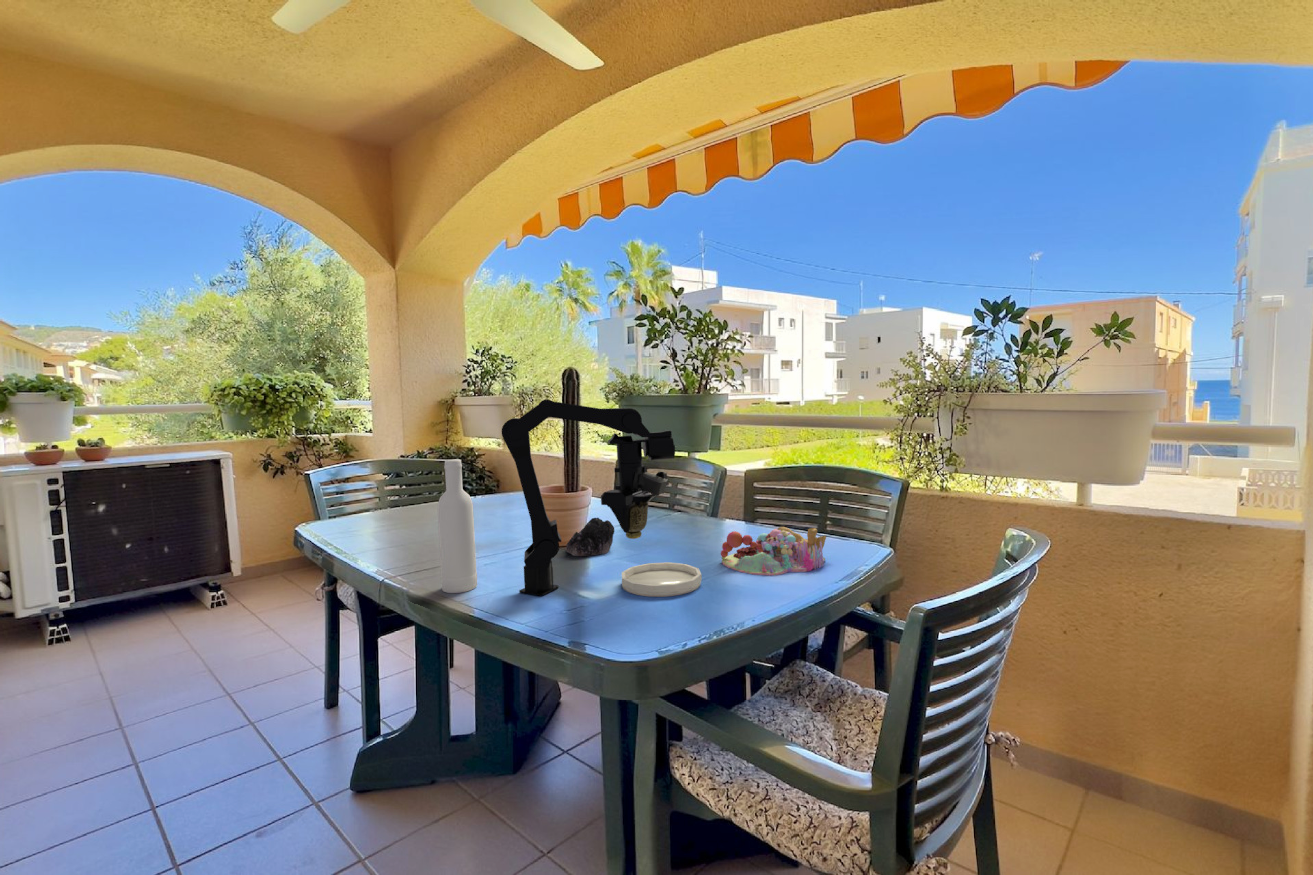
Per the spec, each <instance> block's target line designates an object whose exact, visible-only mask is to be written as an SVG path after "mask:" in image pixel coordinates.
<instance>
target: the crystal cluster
mask: <svg viewBox="0 0 1313 875" xmlns="http://www.w3.org/2000/svg"><path fill="white" fill-rule="evenodd" d="M614 535H615V527H614V525H613V524H612V522H611V521H609V520H604V521H603V520H602V519H601V518H600V517H593V518H591V519H590V520H588V522H587V523H586V524H585V525H584V526H583V528H582V529H580V531H579V532H577V531H575V533H574V534H573V535H572V537H571V538H570V539H569V541H567V544H566V553H568V554H570V555H572V556H574V557H591V556H598V555H603V554H607V553H608V552H610V550H611V547H612V544H613V542H614V539H613V538H614Z"/></svg>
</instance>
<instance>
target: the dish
mask: <svg viewBox="0 0 1313 875" xmlns="http://www.w3.org/2000/svg"><path fill="white" fill-rule="evenodd" d="M702 580H703V579H702V573H701V571H700V568H699V567H696V566H693V565H689V564H686V563H681V562H680V563H679V562H669V561H668V562H667V561H666V562H651V563H644V564H639V565H634V566H631V567H629V568H627V569H625V570H624V571H621V587H622V589H623V590H624V591H625V592H627V593H630V594H632V595H636V596H640V597H641V596H642V597H648V598H649V597H651V598H652V597H653V598H655V597H656V598H661V597H662V598H664V597H665V598H667V597H675V596H680V595H686V594H688V593H691V592H694V591H695V590H697V589H699V588H700V587H701V585H702V584H701V582H702Z"/></svg>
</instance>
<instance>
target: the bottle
mask: <svg viewBox="0 0 1313 875" xmlns="http://www.w3.org/2000/svg"><path fill="white" fill-rule="evenodd" d="M462 467H463V463H462V460H461V459H459V458H458V459H453V458H452V459H445V461H444V466H443V468H444V475H445V491H444V493H443V494H442V495H440V497H439V499H438V503H437V507H436V508H437V524H438V540H439V541H438V542H439V558H440V581H441V582H440V584H441V589H442V592H445V593H446V594H447V593H448V594H458V593H459V594H460V593H465V592H469V591H473V590H474V589H475V588H477V586H478V572H477V556H476V541H475V540H476V539H475V538H476V537H475V520H474V503H473V500H472V498H471V496H470V494H469V493H468V492H466V491H465V490H464V489H463V469H462Z"/></svg>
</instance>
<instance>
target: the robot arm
mask: <svg viewBox="0 0 1313 875" xmlns="http://www.w3.org/2000/svg"><path fill="white" fill-rule="evenodd" d="M549 418H555V419H561V420H566V421H567V420H568V421H574V422H582V423H588V424H595V425H601V426H602V427H603V426H604V427H606V428H609V429H612V430H615V431H619V432H621V433H625V434H629V435H619V434H618V433H616V432H614V433H613V434H612V436H611V438H609V439H608V440H607V444H609V445H616V458H617V467H614V470H613V471H614V473H617V476H618V484H617V485H615V489H610V490H607V491H604V492H603V493H602V494H601V495H600V503H601V505H602V506H607V507H608V508H610V510H611V512H612V513H613V515H614V516H615V518H616V520H617V522H618V524H619V526H620V525H621V526H620V528H621V527H622V528H621V529H622V531H623V533H625V534H626V533H628V532H629V528H630V511H631V509H632V508H633V506H634V505H635V504H636V505H637V504H638V505H639V504H640V502H643V503H644V502H646V503H648V504H649V503H650V502H651V500H653V499H654V498H655V497H656V496H657V497H658V496H660V495H661V494H663V495H664V494H665V492H666V491H665V490H666V488H667V487H668V486H669V485H670V482H669V479H668V472H665V471H662V470H661V471H658V472H657V473H656V474H655V473H650V472H648V466H647V465H644V464H643V456H644V458H646V457H647V458H648V461H650V462H652V461H653V462H654V461H656V462H657V461H665V460H666V461H667V460H674V459H675V456H676V446H675V442H674V438H673V435H672V431H671V430H669V429H667V430H663V431H653V432H652V431H649V429H648V428H647V427H646V426H645V425H644V423H643V421H642V416H641V414H640V412H639V411H638V410H636V409H634V408H629V407H628V408H627V407H620V408H619V407H618V408H615V407H614V408H598V407H592V406H585V405H579V404H572V403H565V402H560V401H559V402H558V401H553V400H551V399H543V400H541V401H540V402H539V403H538V404H537V405H536V406H535V407H533V408H531V409H530V410H528V411H527V412H526V413H525V414H523V415H522V416H520V417H519V418H518V417H516V418H515V417H513V418H510V419H508V420H507V421H505V422H504V424H503V425H502V427H501V436H502V439H503V441H504V443H505V445H506V447H507V450H508V451H509V452H510V455H511V457H512V458H513V460H514V463H515V467H516V469H517V474H518V477H519V481H520V485H521V488H522V491H523V496H524V499H525V503H526V507H527V512H528V515H529V518H530V525H531V539H532V543H531V544H530V546H528V547H527V548H526V550H524V555H523V557H524V558H523V562H524V565H523V579H524V587H523V588H521V589H519V591H518V592H519V593H520V594H526V595H533V596H541V597H542V596H544V595H547V594H548V593H551V592H552V591H554V590H558V589H559V585H557V584H554V574H553V573H554V570H553V561H552V559H553V558H555V557H556V556H557V554H558V553H559V551H560V543H561V542H562V535H561V534H560V532H559V531H558V524H557V519H556V518H555V519H554V520H550V518H549V516H548V514H547V511H546V507H545V504H544V500H543V497H542V493H541V492H542V491H541V489H540V485H539V480H538V478H537V474H536V473H537V472H536V471H535V465H534V464H533V460H532V459H533V458H532V453H531V440H530V438H531V437H530V432H531V431H533V429H535V428H536V427H538V426H539V425H541V424H542V423H543V422H545V421H546V420H547V419H549ZM630 434H631V435H630ZM632 434H633V435H635V436H638V437H641V438H639V439H638V438H637V439H633V437H632ZM633 502H635V503H633Z"/></svg>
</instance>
